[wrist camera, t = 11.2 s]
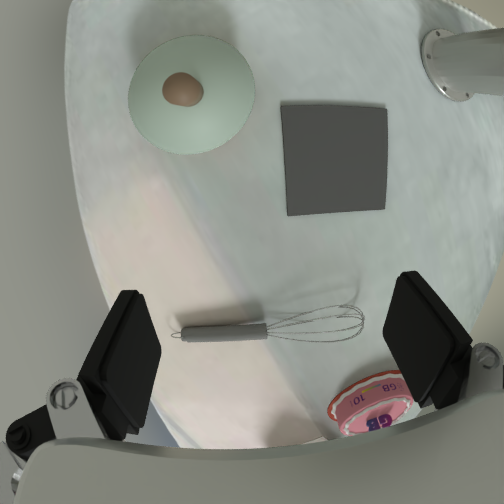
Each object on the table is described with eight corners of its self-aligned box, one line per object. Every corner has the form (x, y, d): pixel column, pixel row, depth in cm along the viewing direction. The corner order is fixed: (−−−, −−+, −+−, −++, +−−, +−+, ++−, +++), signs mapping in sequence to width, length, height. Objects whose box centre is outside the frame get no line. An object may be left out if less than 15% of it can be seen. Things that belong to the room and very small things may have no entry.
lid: (248, 30, 23) (250, 12, 18) (259, 146, 30) (264, 152, 25) (126, 52, 23) (105, 42, 18) (139, 162, 30) (120, 173, 25)
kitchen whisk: (167, 318, 47) (160, 343, 41) (359, 293, 46) (372, 316, 41) (177, 342, 50) (172, 367, 44) (356, 319, 49) (367, 342, 44)
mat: (385, 109, 32) (387, 109, 32) (383, 208, 39) (384, 209, 38) (280, 106, 32) (281, 106, 32) (287, 215, 39) (287, 216, 39)
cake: (417, 356, 57) (434, 388, 48) (404, 402, 68) (416, 429, 59) (323, 389, 59) (333, 426, 50) (330, 428, 71) (336, 457, 61)
